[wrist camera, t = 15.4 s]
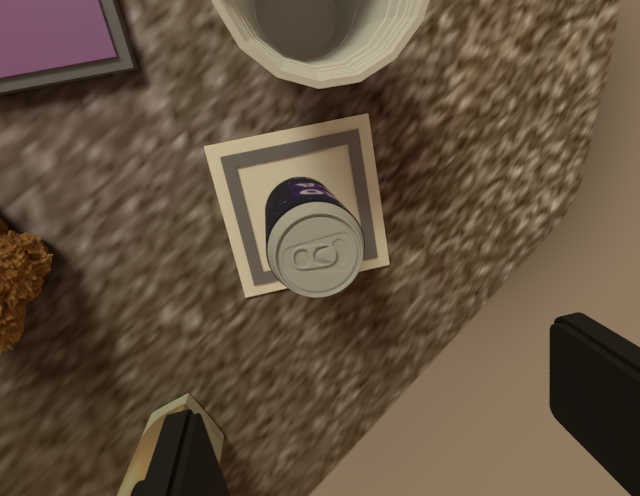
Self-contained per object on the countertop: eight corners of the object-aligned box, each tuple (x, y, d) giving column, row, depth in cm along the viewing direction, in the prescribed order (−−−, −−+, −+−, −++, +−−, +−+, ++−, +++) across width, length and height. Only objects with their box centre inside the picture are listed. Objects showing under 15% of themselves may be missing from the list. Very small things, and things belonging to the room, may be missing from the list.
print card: (388, 263, 35) (390, 265, 35) (245, 296, 35) (245, 298, 34) (367, 113, 31) (369, 113, 31) (204, 146, 30) (203, 146, 30)
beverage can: (336, 238, 34) (373, 296, 22) (269, 247, 33) (273, 311, 22) (330, 171, 32) (367, 198, 21) (260, 179, 31) (258, 211, 20)
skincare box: (226, 434, 39) (209, 567, 27) (188, 455, 39) (156, 596, 27) (187, 388, 37) (151, 511, 25) (147, 411, 37) (94, 543, 25)
